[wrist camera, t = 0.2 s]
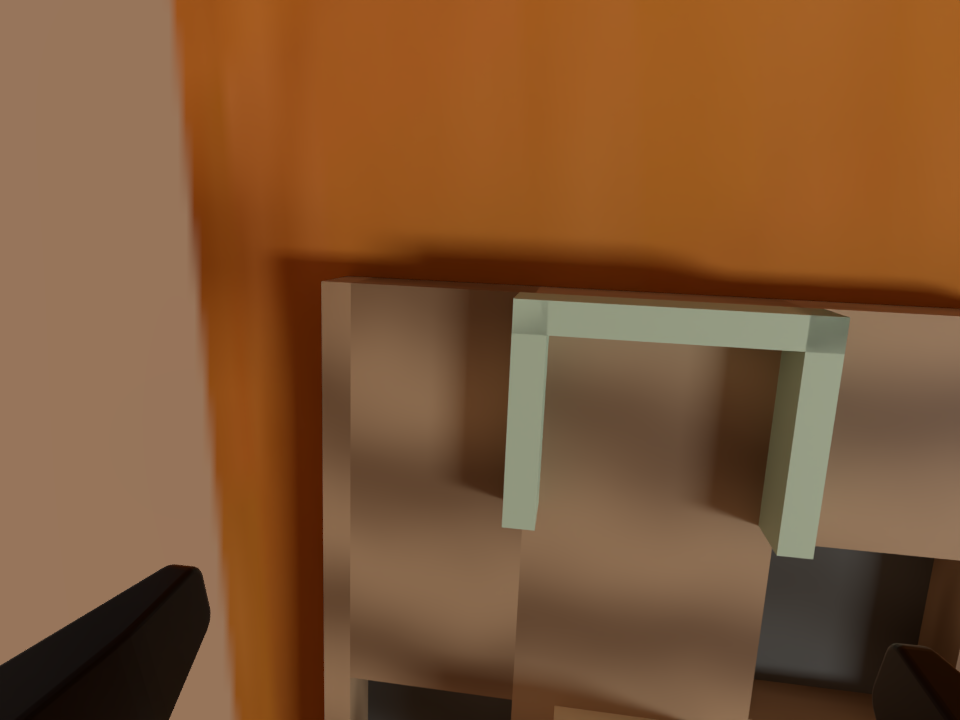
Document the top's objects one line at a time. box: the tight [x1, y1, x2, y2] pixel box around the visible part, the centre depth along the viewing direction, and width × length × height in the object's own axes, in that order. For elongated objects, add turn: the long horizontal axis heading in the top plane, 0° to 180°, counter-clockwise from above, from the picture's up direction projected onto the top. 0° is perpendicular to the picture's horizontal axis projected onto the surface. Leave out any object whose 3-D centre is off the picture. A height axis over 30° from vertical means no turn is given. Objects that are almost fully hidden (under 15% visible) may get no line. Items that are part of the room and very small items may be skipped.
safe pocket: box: [502, 292, 850, 559], centre depth 20 cm, size 7×9×2 cm
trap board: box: [321, 276, 960, 720], centre depth 24 cm, size 24×22×2 cm
